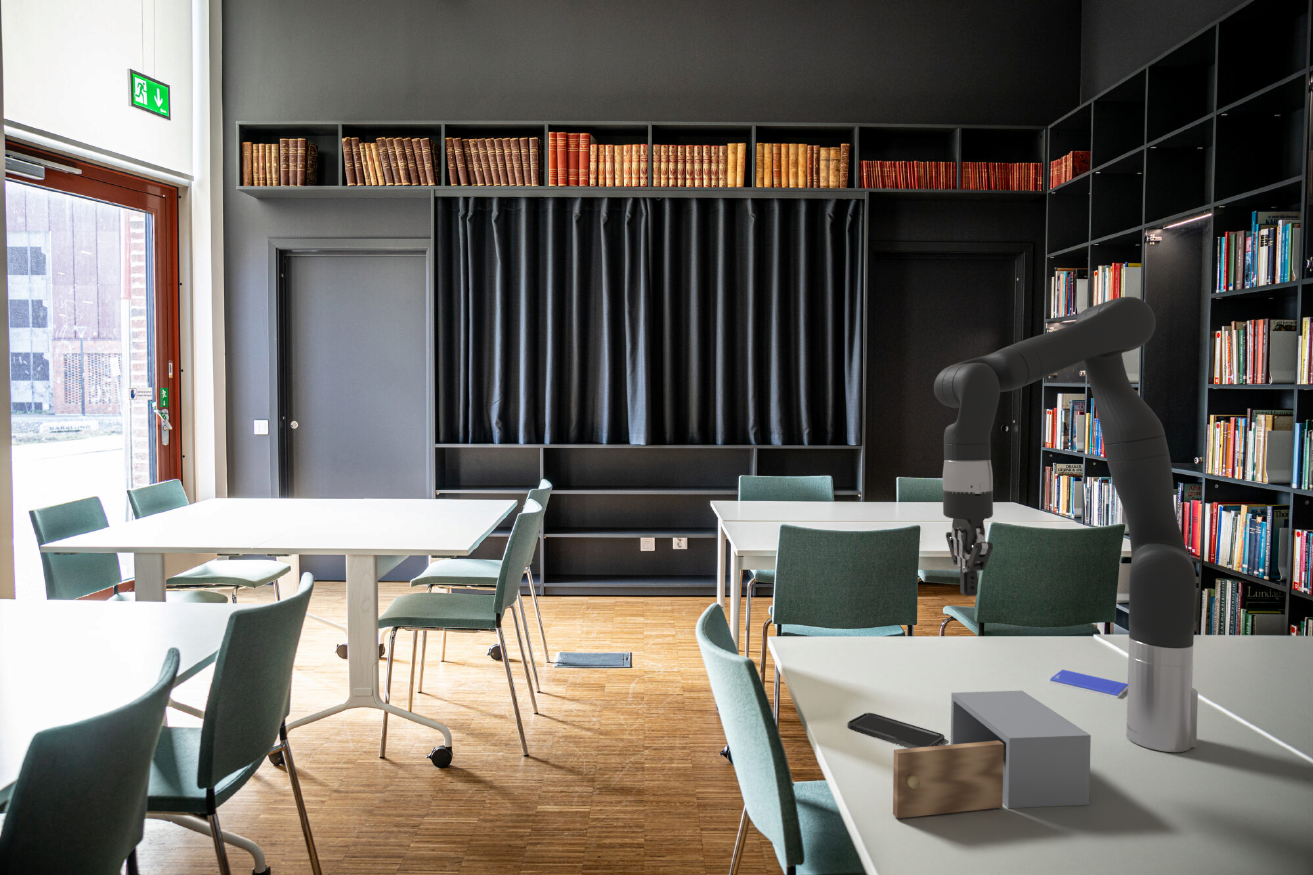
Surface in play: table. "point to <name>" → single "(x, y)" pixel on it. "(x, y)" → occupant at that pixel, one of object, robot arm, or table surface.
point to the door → (947, 778)
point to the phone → (895, 731)
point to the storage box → (1027, 746)
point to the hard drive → (1089, 683)
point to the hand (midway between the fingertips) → (968, 594)
